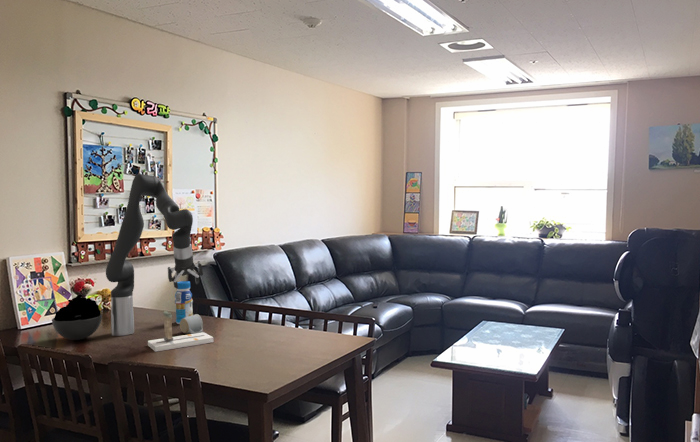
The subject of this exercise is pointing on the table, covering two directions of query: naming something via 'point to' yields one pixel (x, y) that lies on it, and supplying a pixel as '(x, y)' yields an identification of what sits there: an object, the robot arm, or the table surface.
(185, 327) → the ceramic mug
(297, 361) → the table surface
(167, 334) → the fader tab
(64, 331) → the bowl of black rocks
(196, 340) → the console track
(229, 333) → the table surface
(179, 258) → the robot arm
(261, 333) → the table surface
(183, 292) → the beverage bottle
